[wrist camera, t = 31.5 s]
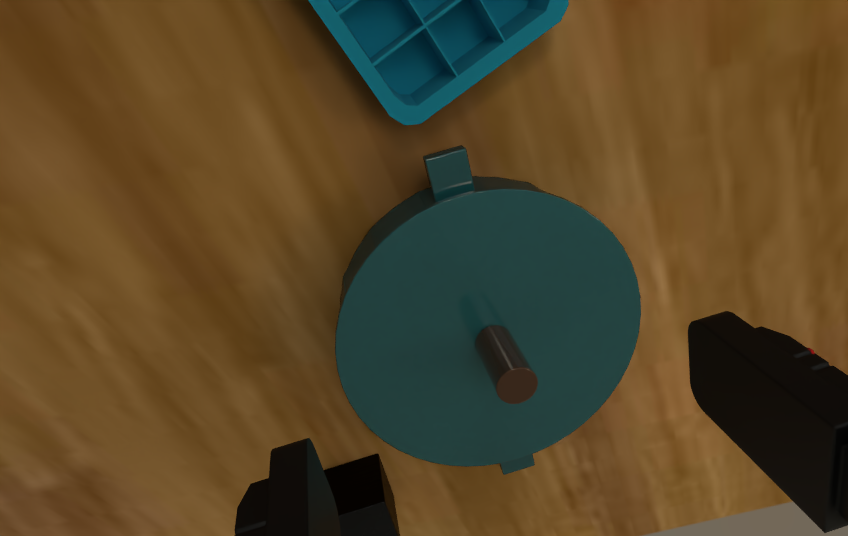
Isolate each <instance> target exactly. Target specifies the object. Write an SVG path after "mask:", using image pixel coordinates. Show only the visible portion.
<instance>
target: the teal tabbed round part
mask: <svg viewBox="0 0 848 536" xmlns="http://www.w3.org/2000/svg"><path fill="white" fill-rule="evenodd" d="M423 160H424V164H425V168H426V172H427V176H428V180H429V184H430V188H427V189H425V190H423V191H420V192H417V193H416V194H414V195H413V196H411V197H409V198H408V199H406V200H405V201H403V202H402V203H400V204H399V205H397V206H396V207H394V208H393V209H392V210H391V211H389V212H388V213H387V214H386V215H385V216H384V217H383V218H381V219H380V220H379V221H378V222H377V223H376V224H375V225H374V226H373V227H372V228H371V229H370V230H369V232H368V234H367V235H366V236H365V238H364V239H363V241H362V242H361V244H360V245H359V247H358V248H357V250H356V252H355V254H354V256H353V258H352V260H351V262H350V264H349V266H348V268H347V270H346V272H345V274H344V276H343V281H342V290H341V296H340V307H341V304H342V301H343V298H344V295H345V292H346V290H347V288H348V286H349V284H350V282H351V280H352V278H353V276H354V274H355V272H356V271H357V269H358V268H359V266H360V265H361V263H362V262H363V260H364V259H365V257H366V256H367V255H368V254H369V252H370V251H371V250H372V249H373V248H374V247H375V246H376V245H377V243H378V242H379V241H380V240H381V239H382V238H383V237H384V236H386V235H387V234H388V233H389V232H390V231H391V230H392V229H394V228H395V227H396V226H397V225H398V224H400V223H401V222H403V221H404V220H406V219H407V218H409V217H410V216H412V215H413V214H414V213H416V212H418V211H420V210H422V209H424V208H426V207H428V206H430V205H432V204H433V203H435V202H438V201H440V200H443V199H446V198H449V197H452V196H454V195H457V194H461V193H465V192H470V191H474V190H479V189H488V188H499V187H510V188H526V189H532V190H537V191H543V190H541V189H539V188H538V187H536V186H534V185H532V184H531V183H528V182H523V181H516V180H510V179H505V178H499V177H478V176H472V174H471V170H470V165H469V161H468V156H467V151H466V149H465V148H464V147H463V146H462V145H461V146H457V147H454V148H450V149H447V150H443V151H440V152H436V153H433V154H429V155H426V156H423ZM543 192H544V191H543ZM339 310H340V309H339ZM499 464H500V467H501V470H502V472H503V474H504V475H505V474H508V473H511V472H514V471H518V470H521V469H524V468H527V467H530V466H533V465H535V464H534V459H533V455H532V454H530V455H528V456H525V457H522V458H519V459H515V460H512V461H508V462H504V463H499Z"/></svg>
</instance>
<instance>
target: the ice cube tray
mask: <svg viewBox="0 0 848 536" xmlns="http://www.w3.org/2000/svg"><path fill="white" fill-rule="evenodd" d="M308 1H309V2H310V4H311V5H312V6H313V8H314V9H315V11H316V12H317V14H318V15H319V16H320V18H321V19H322V21H323V22H324V23H325V25H326V26H327V28H328V29H329V31H330V32H331V33H332V35H333V36H334V38H335V39H336V40H337V42H338V43H339V45H340V46H341V48H342V49H343V50H344V52H345V53H346V55H347V56H348V57H349V59H350V60H351V62H352V63H353V65H354V66H355V67H356V69H357V70H358V72H359V73H360V74H361V76H362V77H363V79H364V80H365V82H366V83H367V84H368V86H369V87H370V89H371V90H372V91H373V93H374V94H375V96H376V97H377V99H378V100H379V101H380V103H381V104H382V106H383V107H384V108H385V110H386V111H387V113H388V114H389V116H390V117H392V118H394V119H395V120H397V121H399V122H400V123H402V124H404V125H414V124H421V123H422V122H424V121H425V120H427V119H428V118H429V117H431V116H432V115H433V114H435V113H436V112H437V111H439V110H440V109H441V108H443V107H444V106H446V105H447V104H448V103H450V102H451V101H452V100H454V99H455V98H456V97H458V96H459V95H461V94H462V93H463V92H465V91H466V90H467V89H469V88H470V87H471V86H473V85H474V84H475V83H477V82H478V81H480V80H481V79H482V78H484V77H485V76H486V75H488V74H489V73H490V72H492V71H493V70H495V69H496V68H497V67H499V66H500V65H501V64H503V63H504V62H505V61H507V60H508V59H510V58H511V57H512V56H514V55H515V54H516V53H518V52H519V51H520V50H522V49H523V48H524V47H526V46H527V45H529V44H530V43H531V42H533V41H534V40H535V39H537V38H538V37H539V36H541V35H542V34H544V33H545V32H546V31H548V30H549V29H550V28H552V27H553V26H554V25H556V24H557V23H558V22H560V21H561V19H562V17H563V15H564V13H565V11H566V9H567V7H568V0H308Z"/></svg>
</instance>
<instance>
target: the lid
mask: <svg viewBox="0 0 848 536" xmlns="http://www.w3.org/2000/svg"><path fill="white" fill-rule="evenodd" d="M640 317H641V305H640V293H639V287H638V282H637V277H636V275H635V272H634V269H633V266H632V263H631V261H630V259H629V257H628V255H627V253H626V251H625V250H624V248H623V246H622V245H621V243H620V242H619V241H618V239H617V238H616V237H615V235H614V234H613V233H612V232H611V231H610V230H609V229H608V228H607V227H606V226H605V225H604V224H603V223H602V222H601V221H600V220H599V219H598V218H596V217H595V216H593V215H592V214H590V213H589V212H588V211H586V210H585V209H583V208H582V207H580V206H578V205H576V204H574V203H572V202H570V201H568V200H566V199H564V198H562V197H559V196H556V195H553V194H550V193H547V192H543V191H537V190H532V189H526V188H510V187H499V188H488V189H479V190H474V191H470V192H465V193H461V194H457V195H454V196H452V197H449V198H446V199H443V200H440V201H438V202H435V203H433V204H432V205H430V206H428V207H426V208H424V209H422V210H420V211H418V212H416V213H414V214H413V215H412V216H410V217H409V218H407V219H406V220H404V221H403V222H401V223H400V224H398V225H397V226H396V227H395V228H394V229H392V230H391V231H390V232H389V233H388V234H387V235H386V236H384V237H383V238H382V239H381V240H380V241H379V242H378V243H377V245H376V246H375V247H374V248H373V249H372V250H371V251H370V252H369V254H368V255H367V256H366V257H365V259H364V260H363V262H362V263H361V265H360V266H359V268H358V269H357V271H356V272H355V274H354V276H353V278H352V280H351V282H350V284H349V286H348V288H347V290H346V292H345V295H344V298H343V301H342V304H341V307H340V310H339V314H338V320H337V325H336V334H335V354H336V362H337V370H338V373H339V377H340V380H341V384H342V387H343V389H344V392H345V394H346V396H347V398H348V400H349V402H350V404H351V406H352V407H353V409H354V410H355V412H356V413H357V415H358V416H359V418H360V419H361V420H362V421H363V422H364V423H365V424H366V425H367V426H368V427H369V429H370V430H371V431H373V432H374V433H375V434H376V435H377V436H379V437H380V438H381V439H382V440H383V441H385V442H386V443H388V444H390V445H391V446H393V447H395V448H396V449H398V450H400V451H402V452H404V453H406V454H409V455H411V456H413V457H416V458H419V459H422V460H426V461H429V462H433V463H438V464H444V465H452V466H485V465H492V464H498V463H504V462H508V461H512V460H515V459H519V458H522V457H525V456H528V455H530V454H533V453H536V452H538V451H540V450H542V449H544V448H546V447H548V446H550V445H553V444H555V443H556V442H558V441H559V440H561V439H563V438H564V437H566V436H567V435H569V434H571V433H572V432H573V431H574V430H576V429H577V428H578V427H580V426H581V425H582V424H584V423H585V422H586V421H587V420H588V419H589V418H590V417H591V416H592V415H593V414H594V413H595V412H596V411H597V410H598V409H599V408H600V407H601V406H602V405H603V404H604V402H605V401H606V400H607V399H608V398H609V397H610V395H611V394H612V392H613V391H614V389H615V388H616V386H617V385H618V383H619V382H620V380H621V378H622V376H623V375H624V373H625V371H626V369H627V367H628V365H629V362H630V360H631V357H632V355H633V352H634V349H635V346H636V342H637V337H638V333H639V326H640Z"/></svg>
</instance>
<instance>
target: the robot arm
mask: <svg viewBox="0 0 848 536" xmlns="http://www.w3.org/2000/svg"><path fill="white" fill-rule="evenodd" d="M688 343H689V368H690V384H691V389H692V392H693V395H694V397H695V399H696V401H697V403H698V404H699V406H700V407H701V409H702V410H703V411H704V412H705V413H706V414H707V415H708V416H709V417H710V418H711V419H712V420H713V421H714V422H715V423H716V424H717V425H718V426H719V427H720V428H721V429H722V430H723V431H724V432H725V433H726V434H727V435H728V436H729V437H730V438H731V439H732V440H733V441H734V442H735V443H736V444H737V445H738V446H739V447H740V448H741V449H742V450H743V451H744V452H745V453H746V454H747V455H748V456H749V457H750V458H751V459H752V460H753V461H754V462H755V463H756V464H757V465H758V466H759V467H760V468H761V469H762V470H763V471H764V472H765V473H766V474H767V475H768V476H769V477H770V478H771V479H772V480H773V481H774V482H775V483H776V484H777V485H778V486H779V487H780V488H781V489H782V490H783V491H784V492H785V493H786V494H787V495H788V496H789V498H790V499H791V500H792V501H793V502H794V503H795V504H797V506H799V508H800V509H801V510H803V511H804V512H805V513H806V514H807V515H808V517H809V518H811V520H813V522H815V524H817V526H818V527H819V528H820V529H822V531H823V532H824V533H826V532H829V531H832V530H835V529H838V528H841V527H844V526H847V525H848V375H846V374H845V373H843V372H842V371H840V370H839V369H837V368H836V367H834V366H830V365H829V363H828V362H827V361H825V360H824V359H822V358H821V357H819V356H818V355H817V354H812V353H811V350H809V349H808V348H806V347H805V346H803V345H802V344H800V343H799V342H797V341H796V340H794V339H793V338H791V337H790V336H787V335H784V334H782V333H779V332H776V331H773V330H770V329H767V328H764V327H758V328H753V327H752V326H751V325H749V324H748V323H746V322H745V321H744V320H742V319H741V318H739V317H738V316H737V315H735V314H734V313H732V312H729V311H725V312H721V313H718V314H715V315H712V316H708V317H705V318H702V319H699V320H695V321H692V322H691V323H690V325H689V328H688ZM235 536H341V533H340V522H339V516H338V511H337V507H336V503H335V500H334V496H333V494H332V491H331V488H330V486H329V483H328V481H327V478H326V476H325V473H324V471H323V468H322V466H321V463H320V460H319V458H318V455H317V453H316V450H315V448H314V445H313V443H312V441H311V440H310V439H309V438H307V439H304V440H300V441H297V442H294V443H291V444H287V445H284V446H281V447H278V448H274V449H272V451H271V456H270V472H269V478H268V479H264V480H261V481H258V482H255V483H252V484H250V486H249V488H248V490H247V491H246V493H245V495H244V497H243V499H242V500H241V502H240V504H239V506H238V508H237V516H236V524H235Z"/></svg>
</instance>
